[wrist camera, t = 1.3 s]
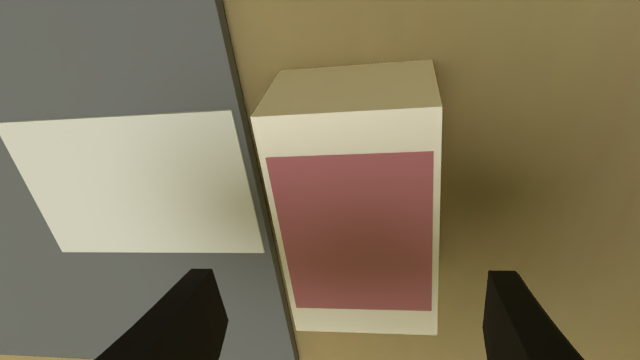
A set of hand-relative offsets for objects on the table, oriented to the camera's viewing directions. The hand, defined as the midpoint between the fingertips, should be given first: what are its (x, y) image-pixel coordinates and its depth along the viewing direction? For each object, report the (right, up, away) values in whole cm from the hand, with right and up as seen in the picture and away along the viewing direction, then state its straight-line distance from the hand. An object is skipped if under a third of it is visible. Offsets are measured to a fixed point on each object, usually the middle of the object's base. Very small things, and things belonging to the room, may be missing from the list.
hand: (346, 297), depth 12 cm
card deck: (+1, +3, +5) cm, 6 cm away
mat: (-12, +3, +7) cm, 14 cm away
